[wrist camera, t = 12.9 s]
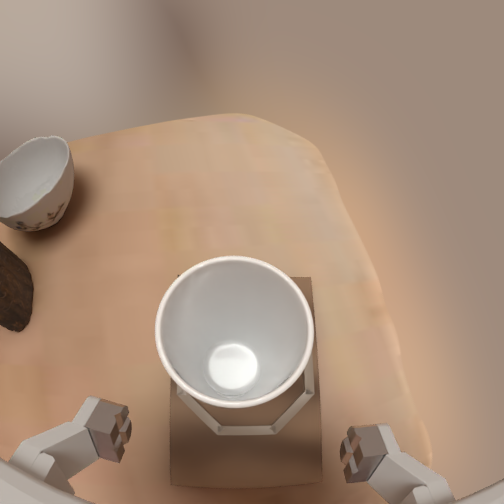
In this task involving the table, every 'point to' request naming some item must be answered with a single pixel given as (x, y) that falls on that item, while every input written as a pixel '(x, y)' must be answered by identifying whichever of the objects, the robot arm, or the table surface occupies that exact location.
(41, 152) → the teacup
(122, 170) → the table surface
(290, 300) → the drinking glass
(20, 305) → the statue
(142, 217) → the table surface
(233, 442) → the walnut board
